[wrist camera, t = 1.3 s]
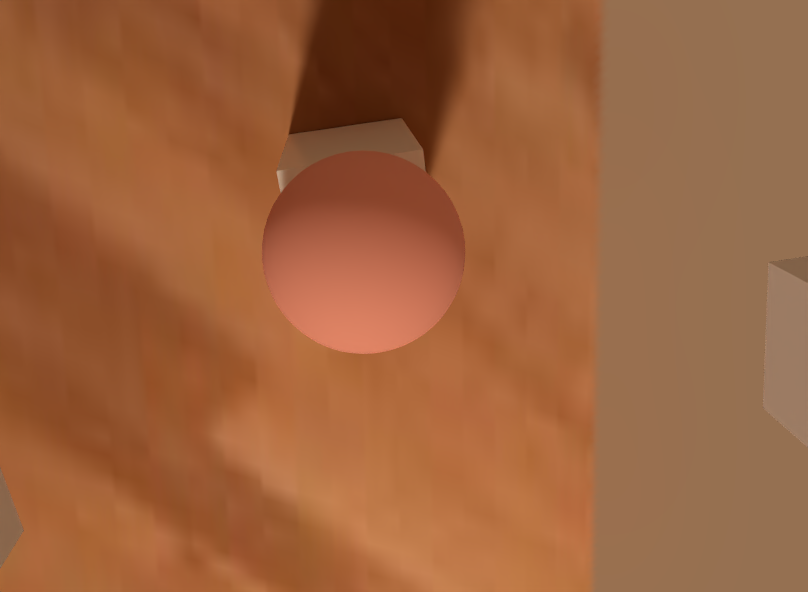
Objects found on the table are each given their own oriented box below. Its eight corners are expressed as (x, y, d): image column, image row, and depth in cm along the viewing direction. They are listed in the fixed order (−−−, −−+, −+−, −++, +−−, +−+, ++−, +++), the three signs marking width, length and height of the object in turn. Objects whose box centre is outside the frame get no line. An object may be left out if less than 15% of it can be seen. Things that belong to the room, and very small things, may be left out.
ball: (253, 150, 25) (230, 192, 19) (438, 123, 26) (471, 156, 20) (288, 321, 28) (276, 405, 22) (457, 294, 28) (492, 371, 22)
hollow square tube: (288, 134, 32) (276, 170, 25) (401, 118, 33) (422, 149, 25) (308, 243, 34) (302, 307, 27) (415, 226, 34) (439, 285, 27)
